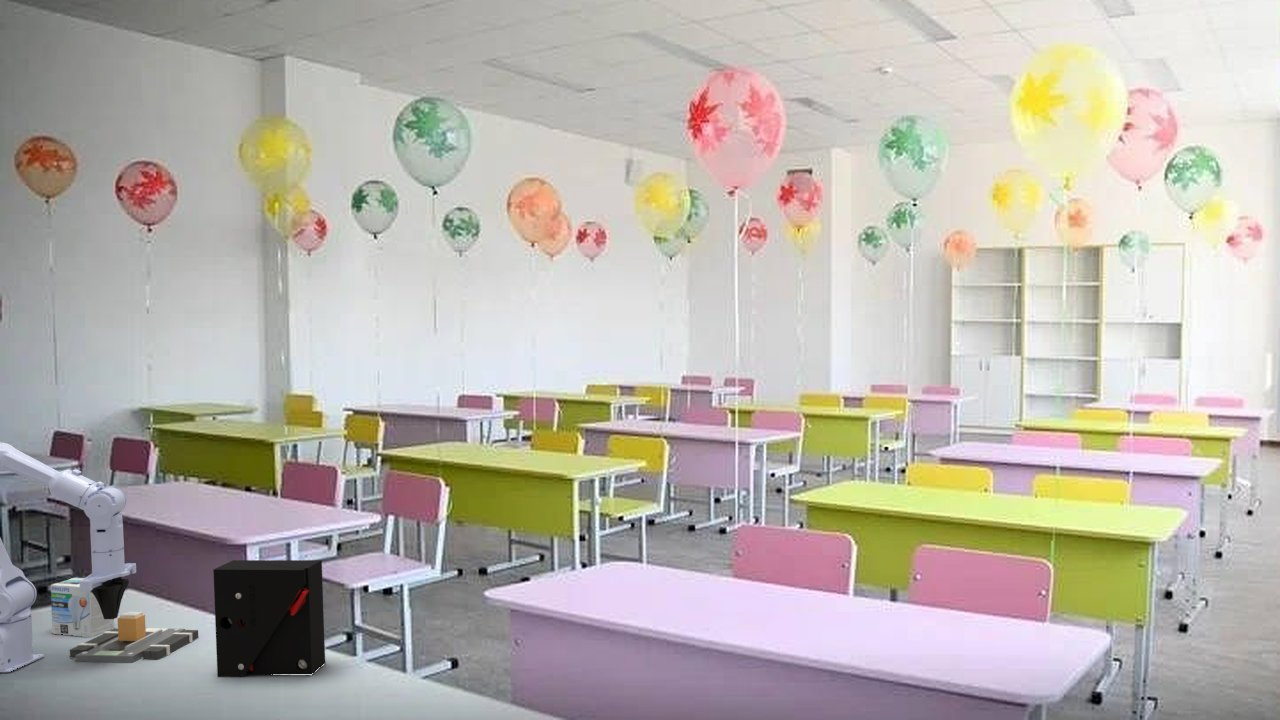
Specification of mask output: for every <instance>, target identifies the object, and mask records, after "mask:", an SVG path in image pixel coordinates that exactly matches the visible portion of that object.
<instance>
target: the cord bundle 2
mask: <svg viewBox="0 0 1280 720" xmlns="http://www.w3.org/2000/svg"><path fill="white" fill-rule="evenodd" d="M197 639H199V630H198V629H185V630H182V631H180V632H178V633H173V636H171V637H169V638H167V639H165V640H163V641H161V642H159V643H157V644H155V645H150V646H149V648H148V649H146V650H144V651H143V657H142V660H155V661H156V660H158V661H159V660H160V659H162V658H164V657H166V656H169V655H171V654H172V653H173V652H176V650H179V649H181V648H183V647H184V646H186V645H188V644H190V643H193V641H195V640H197Z"/></svg>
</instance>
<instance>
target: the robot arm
mask: <svg viewBox="0 0 1280 720" xmlns="http://www.w3.org/2000/svg"><path fill="white" fill-rule="evenodd" d="M3 471H9V472H11V473H14V474H16V475H17V476H18V475H19V476H21V477H23V478H26V479H29V480H31V481H34V482H36V483H39V484H41V485H42V486H46V487H48V489H49V492H50V494H51V496H52V497H54V498H57V499H58V500H61V501H63V502H65V503H67V504H69V505H71V506H73V507H76V508H78V509H80V510H81V511H82V510H83V513H84V514H85V515H86V517H87V518H89V524H90V526H89V532H90V551H91V552H90V553H91V556H90V557H91V573H90V574H89V575H87V576H86V577H85V579H83V580H81V581H80V591H91V592H92V593H93V595H94V596H95V598H96V599H97V601H98V603H99V606H100V609H101V611H102V614H103V617H104V619H114V620H115V619H118V618H119V617H118V616H119V613H120V607H121V603H122V601H123V600H122V599H123V596H124V594H125V591H126V590H127V588H128V586H129V583H130V582H129V579H127V578H124V577H126V576H130V575H133V574H134V575H135V574H136V573H137V564H136V562H135V563H134V562H132V563H131V562H127V563H125V544H124V543H125V541H124V540H125V539H124V524H123V523H124V522H123V512H122V511H123V510H124V509H125V508H126V506H127V497H126V495H125V493H124V491H123V490H121V489H120V488H119V487H117V486H115V485H108V486H105V483H104V482H102V481H97V482H96V481H95V480H92V479H91V478H88V477H87V476H84V475H82V471H81V470H78V469H73V470H71V469H64V470H61V471H58V470H57V469H54V468H52V467H51V466H48V465H47V464H45V463H43V462H42V461H40V460H37V459H36V458H34V457H32V456H30V455H28V454H27V453H25V452H22V451H21V450H18V449H17V448H15V447H14V446H12V444H9V443H6V442H2V441H0V472H3ZM9 556H10V555H9V554H8V551H7V550H6V547H5V545H4V542H3V540H2V538H1V537H0V673H12V672H14V671H17V670H18V669H20V668H22V666H23V667H25V666H27V665H29V664H31V663H33V662H36V661H38V660H40V659H43V658H44V657H45V654H43V653H34V646H33V626H32V625H33V622H32V621H33V619H32V610H31V609H32V608H31V606H32V605H34V603H35V601H36V599H37V594H38V593H37V588H36V587H35V585H34V584H33V583H32V582H31V581H30V580H29V579H28V578H27V577H26V576H25V573H24V572H23V570H22V569H20V568H18V566H15V565H14V564H13V563H12V560H11V558H10V557H9ZM24 665H25V666H24ZM17 668H18V669H17ZM13 670H14V671H13ZM11 671H12V672H11Z"/></svg>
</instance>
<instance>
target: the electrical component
mask: <svg viewBox="0 0 1280 720" xmlns="http://www.w3.org/2000/svg"><path fill="white" fill-rule="evenodd" d="M212 572H213V589H214V590H213V591H214V592H213V594H214V616H215V618H214V619H215V624H214V625H215V645H216V646H215V649H216V672H217V674H216V675H217V678H235V677H236V678H238V677H240V678H241V677H245V676H274V675H273V674H312V673H314V672H315V671H316V670H317V669H318V668H319V667H321V666H322V665H323V664H324V663H325V664H326V649H325V647H326V646H325V645H326V644H325V621H324V617H325V616H324V597H323V596H324V593H323V590H324V587H323V560H321V559H320V560H319V559H317V560H316V559H315V560H314V559H312V560H310V559H308V560H307V559H305V560H303V559H302V560H300V559H299V560H298V559H296V560H295V559H294V560H292V559H290V560H289V559H287V560H285V559H284V560H283V559H279V560H277V559H273V560H272V559H271V560H270V559H267V560H266V559H262V560H261V559H256V560H254V559H253V560H252V559H246V560H243V559H241V560H239V559H236V560H235V559H234V560H230V561H229V562H227V563H224V564H222V565H220V566H218V567H216V568H213V571H212ZM271 674H272V675H271Z"/></svg>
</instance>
